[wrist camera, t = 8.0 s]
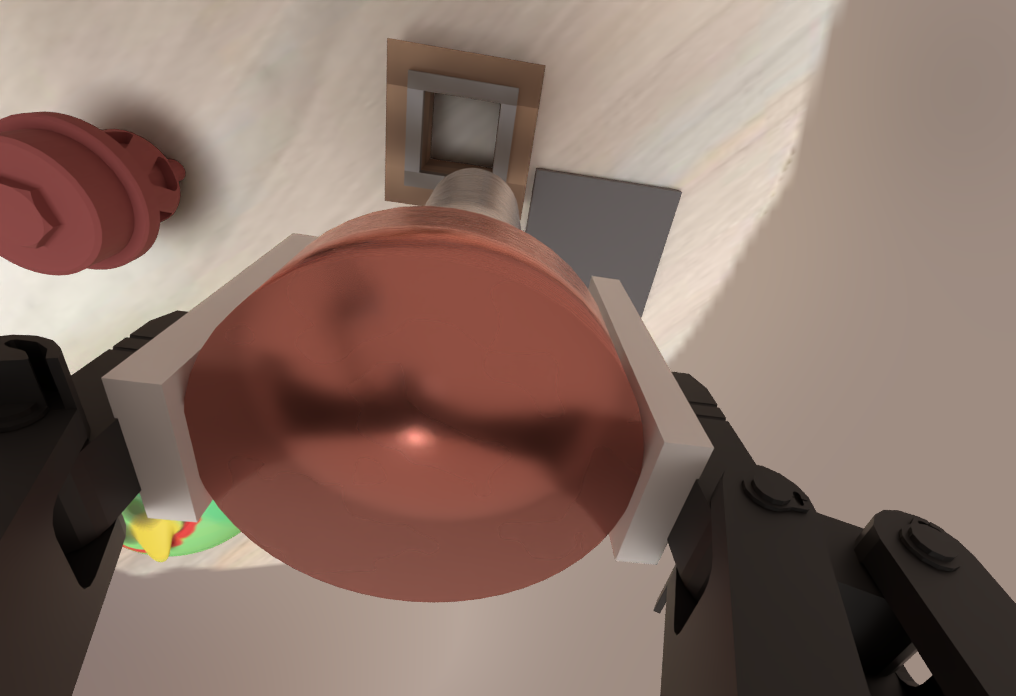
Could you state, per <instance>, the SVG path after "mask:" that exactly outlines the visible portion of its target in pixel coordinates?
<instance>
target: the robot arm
mask: <svg viewBox="0 0 1016 696" xmlns="http://www.w3.org/2000/svg"><path fill="white" fill-rule="evenodd" d="M317 238H318V237H316V236H309V235H302V234H295V233H293V234H291V235H290V236H289V237H287V238H286V239H285V240H283V241H282V242H281V243H279V244H278V245H277V246H275V247H274V248H273V249H271V250H270V251H269V252H267V253H266V254H265V255H264V256H262V257H261V258H260V259H258V260H257V261H256V262H254V263H253V264H252V265H250V266H249V267H248V268H246V269H245V270H244V271H242V272H241V273H240V274H238V275H237V276H236V277H234V278H233V279H232V280H230V281H229V282H228V283H226V284H225V285H224V286H222V287H221V288H220V289H218V290H217V291H216V292H214V293H213V294H212V295H210V296H209V297H208V298H206V299H205V300H204V301H202V302H201V303H200V304H198V305H197V306H196V307H194V308H193V309H192V310H190V311H189V312H185V311H175V312H172V313H170V314H167V315H164V316H161V317H159V318H156V319H153V320H151V321H149V322H147V323H146V324H145V325H143V326H142V327H140V328H139V329H137V330H136V331H135V332H133V333H132V334H130V338H127V337H126V338H124V339H123V340H122V341H120V342H119V343H117V344H116V345H114V346H113V350H111V349H109V350H107V351H106V352H104V353H103V354H101V355H100V356H99V357H97V358H96V359H94V360H93V361H91V362H90V363H89V364H87V365H86V366H84V367H83V368H81V369H80V370H79V371H77V372H76V373H74V374H73V375H70V372H69V369H68V367H67V364H66V361H65V359H64V356H63V353H62V351H61V348H60V347H59V346H58V345H57V344H56V343H55V342H54V341H53V340H50V339H47V338H43V337H39V336H31V335H6V336H0V696H72V693H73V690H74V688H75V684H76V682H77V679H78V676H79V672H80V670H81V667H82V664H83V661H84V658H85V655H86V652H87V649H88V646H89V643H90V640H91V637H92V634H93V632H94V629H95V626H96V622H97V620H98V617H99V614H100V611H101V608H102V605H103V602H104V599H105V596H106V593H107V590H108V587H109V584H110V581H111V579H112V576H113V573H114V570H115V567H116V564H117V561H118V558H119V555H120V552H121V549H122V546H123V543H124V540H125V537H126V523H125V520H124V517H123V515H122V512H123V511H124V510H125V509H126V507H127V506H128V505H129V504H130V503H131V502H132V501H133V499H134V498H135V497H136V496H137V495H138V494H139V493H140V496H141V499H142V502H143V505H144V508H145V511H146V514H147V517H148V518H154V519H165V520H176V521H187V522H198V521H199V519H200V518H201V516H202V515H203V513H204V512H205V510H206V509H207V507H208V506H209V504H210V503H211V502H212V500H213V499H212V497H211V496H210V495H209V493H208V492H207V490H206V489H205V487H204V485H203V483H202V481H201V479H200V476H199V472H198V468H197V464H196V460H195V456H194V451H193V447H192V443H191V439H190V435H189V430H188V426H187V422H186V418H185V414H184V398H185V393H186V389H187V384H188V380H189V375H190V372H191V370H192V368H193V366H194V363H195V361H196V359H197V356H198V354H199V352H200V350H201V348H202V347H203V345H204V344H205V343H206V341H207V340H208V338H209V337H210V335H211V334H212V332H213V331H214V329H215V328H216V327H217V326H218V325H219V324H220V323H221V322H222V321H223V320H224V319H225V318H226V317H227V316H228V315H229V314H230V313H231V312H232V311H233V310H234V309H235V308H236V307H237V306H238V305H239V304H240V303H242V302H243V301H244V300H245V299H246V298H247V297H249V296H250V295H251V294H252V293H253V292H254V291H255V290H257V289H258V288H259V287H260V286H261V285H262V284H264V283H265V282H266V281H267V280H268V279H269V278H270V277H272V276H273V275H274V274H275V273H276V272H277V271H278V270H280V269H281V268H282V267H283V266H284V265H285V264H287V263H288V262H289V261H290V260H291V259H292V258H293V257H295V256H296V255H297V254H298V253H299V252H300V251H302V250H303V249H304V248H305V247H306V246H307V245H309V244H310V243H312V242H313V241H314V240H316V239H317ZM588 290H589V292H590V293H591V295H592V297H593V298H594V300H595V302H596V303H597V305H598V308H599V310H600V313H601V315H602V318H603V320H604V322H605V325H606V327H607V330H608V332H609V335H610V337H611V340H612V342H613V344H614V347H615V349H616V352H617V354H618V357H619V359H620V362H621V364H622V366H623V369H624V371H625V374H626V376H627V379H628V381H629V384H630V386H631V388H632V391H633V393H634V396H635V398H636V401H637V403H638V407H639V412H640V416H641V421H642V425H643V440H644V454H643V461H642V469H641V474H640V477H639V480H638V482H637V485H636V487H635V490H634V492H633V495H632V497H631V500H630V502H629V505H628V507H627V509H626V511H625V513H624V514H623V515H622V517H621V518H620V520H619V521H618V523H617V524H616V525H615V527H614V528H613V529H612V531H611V532H610V533H609V536H610V540H611V544H612V549H613V553H614V558H615V561H623V562H633V563H644V564H655V565H657V564H658V561H659V560H660V558H661V556H662V553H663V551H664V549H665V547H666V545H667V543H668V544H669V546H670V549H671V552H672V555H673V558H674V561H675V563H676V565H675V567H674V569H673V571H672V572H671V574H670V577H669V578H668V580H667V582H666V584H665V586H664V588H663V590H662V592H661V594H660V596H659V598H658V600H657V602H656V605H655V608H654V611H655V612H657V613H660V612H661V610H662V609H663V607H664V605H665V603H666V614H665V631H664V646H663V662H662V678H661V695H660V696H1016V603H1015V602H1014V601H1013V600H1012V599H1011V598H1010V597H1009V595H1008V594H1007V593H1006V592H1005V591H1004V590H1003V588H1002V587H1001V586H1000V585H999V584H998V583H997V582H996V580H995V579H994V578H993V577H992V576H991V575H990V574H989V572H988V571H987V570H986V569H985V568H984V567H983V565H982V564H981V563H980V562H979V561H978V560H977V559H976V557H975V556H974V555H973V554H972V553H970V552H969V551H968V550H967V549H966V548H965V547H964V546H963V545H962V544H961V543H960V542H959V541H958V540H956V539H955V538H953V537H952V536H951V535H949V534H947V533H946V532H945V531H944V530H943V529H942V528H940V527H938V526H937V525H935V524H933V523H931V522H930V523H929V522H928V521H927V520H925V519H922V518H920V517H918V516H915V515H911V514H908V513H904V512H902V511H898V510H883V511H881V512H879V513H877V514H875V515H874V517H873V518H872V519H871V520H870V522H869V523H868V524H867V525H866V527H865V528H864V529H863V528H860V527H857V526H855V525H852V524H849V523H846V522H843V521H840V520H837V519H834V518H831V517H828V516H825V515H822V514H819V513H817V512H816V510H815V509H814V507H813V505H812V503H811V501H810V499H809V497H808V496H807V495H805V493H804V492H803V491H802V490H801V489H800V488H799V487H798V486H797V485H795V484H794V483H793V482H791V481H790V480H788V479H787V478H785V477H784V476H782V475H781V474H779V473H777V472H775V471H773V470H770V469H768V468H766V467H764V466H759V465H756V464H755V462H754V460H753V459H752V457H751V456H750V454H749V453H748V451H747V450H746V448H745V447H744V445H743V443H742V442H741V440H740V439H739V438H738V436H737V434H736V433H735V431H734V430H733V428H732V426H731V425H730V423H729V422H728V421H726V417H725V416H724V414H723V413H722V411H721V410H720V408H717V403H716V402H715V400H714V399H713V397H712V396H711V394H710V393H709V391H708V389H707V388H705V387H704V386H703V385H702V384H701V383H699V382H698V381H697V380H696V379H695V378H693V377H692V376H691V375H690V374H686V373H677V372H671V371H670V369H669V367H668V365H667V364H666V362H665V360H664V358H663V356H662V355H661V353H660V351H659V349H658V348H657V346H656V344H655V342H654V341H653V339H652V337H651V335H650V333H649V332H648V330H647V328H646V326H645V325H644V323H643V321H642V319H641V317H640V316H639V314H638V312H637V310H636V309H635V307H634V305H633V303H632V302H631V300H630V298H629V296H628V294H627V293H626V291H625V289H624V287H623V286H622V284H621V282H620V280H617V279H610V278H603V277H596V276H592V277H591V280H590V284H589V288H588ZM917 651H918V652H919V654H920V655H921V657H922V659H923V660H924V662H925V663H926V665H927V667H928V668H929V670H930V671H931V673H932V676H931V677H930V678H929V679H928V680H927V681H926V682H924V683H923V684H921V685H919V684H917V683H916V682H915V681H914V680H913V679H912V677H910V675H909V673H908V672H907V670H906V668H905V667H904V665H903V664H904V663H905V662H906V661H907V660H908V659H909V658H911V657H912V656H913V655H914V654H915V653H916V652H917Z"/></svg>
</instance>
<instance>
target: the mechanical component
mask: <svg viewBox="0 0 1016 696" xmlns="http://www.w3.org/2000/svg"><path fill="white" fill-rule="evenodd" d="M184 178H185V170H184V168H183V166H182V165H181V164H180V163H179V162H178V161H176V160H173V159H167V158H166V157H165V156H164V155H163V154H162V153H161V152H160V151H159V150H158V149H157V148H156V147H155V146H154V145H153V144H151V143H150V142H149V141H147V140H145V139H144V138H142V137H140V136H138V135H136V134H134V133H131V132H128V131H125V130H119V129H106V130H100V129H98V128H97V127H95V126H93V125H91V124H89V123H87V122H85V121H83V120H81V119H78V118H75V117H72V116H69V115H65V114H61V113H55V112H32V113H21V114H15V115H10V116H8V117H5V118H3V119H1V120H0V256H1V257H3V258H5V259H7V260H8V261H10V262H12V263H14V264H16V265H18V266H20V267H23V268H25V269H28V270H31V271H34V272H38V273H43V274H48V275H69V274H73V273H77V272H79V271H82V270H84V269H86V268H88V269H112V268H117V267H120V266H123V265H125V264H127V263H129V262H131V261H133V260H135V259H137V258H139V257H140V256H142V255H143V254H145V253H146V252H147V251H148V250H149V249H150V248H151V247H152V245H153V244H154V242H155V240H156V238H157V235H158V232H159V227H160V222H162V221H164V220H166V219H168V218H169V217H170V216H172V215H173V214H174V212H175V211H176V209H177V207H178V205H179V201H180V186H179V181H181V180H183V179H184Z"/></svg>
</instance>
